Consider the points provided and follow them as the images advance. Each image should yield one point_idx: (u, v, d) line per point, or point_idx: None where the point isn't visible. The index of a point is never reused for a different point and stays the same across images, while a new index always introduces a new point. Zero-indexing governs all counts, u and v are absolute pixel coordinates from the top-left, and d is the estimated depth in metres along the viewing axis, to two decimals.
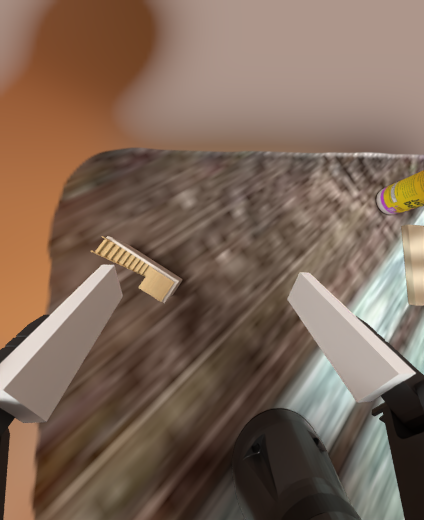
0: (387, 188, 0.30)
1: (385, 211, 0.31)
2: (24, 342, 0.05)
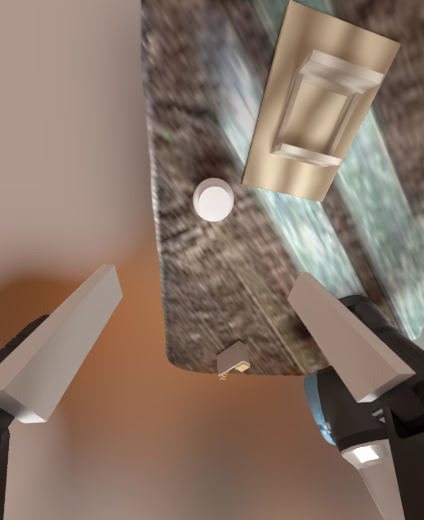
0: None
1: None
2: (24, 342, 0.05)
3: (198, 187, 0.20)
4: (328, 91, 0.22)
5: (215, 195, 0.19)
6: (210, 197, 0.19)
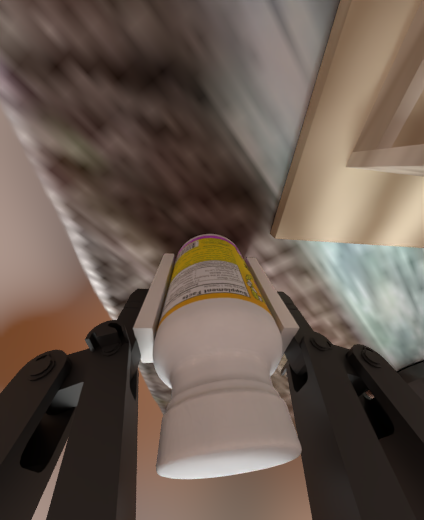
0: None
1: None
2: (145, 303, 0.07)
3: (161, 345, 0.06)
4: None
5: (232, 459, 0.04)
6: (210, 463, 0.04)
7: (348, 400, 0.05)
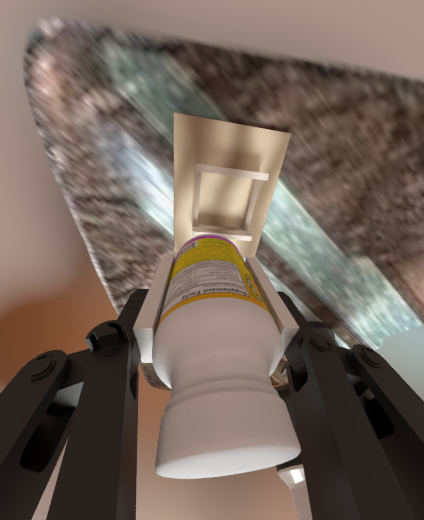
0: None
1: None
2: (145, 303, 0.07)
3: (160, 345, 0.06)
4: (232, 176, 0.23)
5: (231, 458, 0.04)
6: (209, 462, 0.04)
7: (348, 400, 0.05)
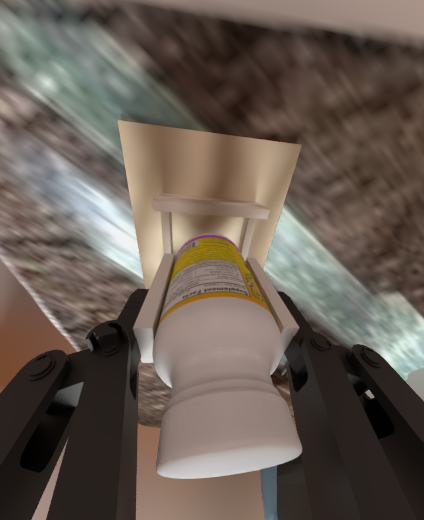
0: None
1: None
2: (144, 303, 0.07)
3: (161, 345, 0.06)
4: None
5: (232, 458, 0.04)
6: (210, 462, 0.04)
7: (348, 400, 0.05)
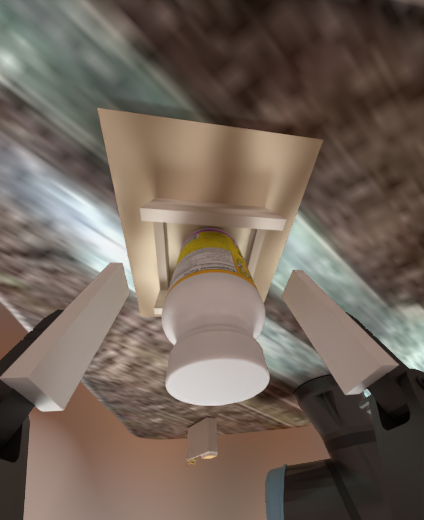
0: None
1: None
2: (42, 334, 0.06)
3: (168, 308, 0.07)
4: None
5: (216, 373, 0.05)
6: (202, 377, 0.06)
7: None
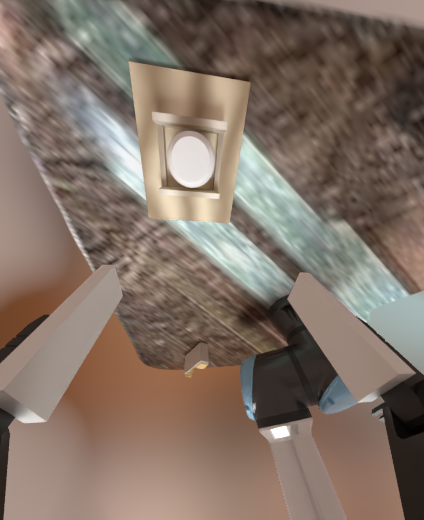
0: None
1: None
2: (23, 342, 0.05)
3: (169, 146, 0.17)
4: None
5: (189, 148, 0.15)
6: (184, 151, 0.15)
7: None
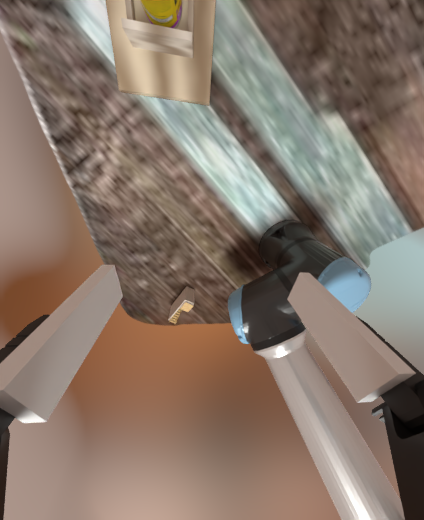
0: (150, 19, 0.22)
1: (179, 19, 0.23)
2: (23, 342, 0.05)
3: None
4: None
5: None
6: None
7: None
